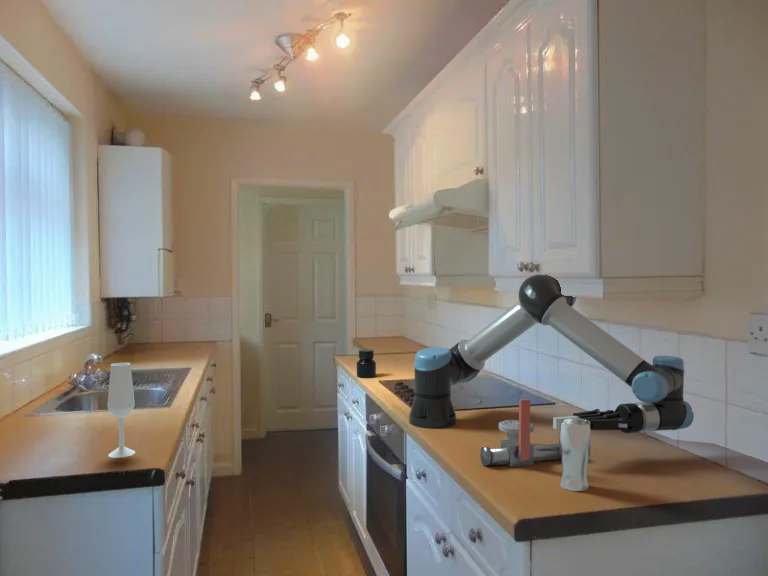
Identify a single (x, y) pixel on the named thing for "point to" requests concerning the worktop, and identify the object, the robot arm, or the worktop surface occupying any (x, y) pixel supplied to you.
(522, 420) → the lever
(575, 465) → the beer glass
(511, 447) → the valve
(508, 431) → the showerhead
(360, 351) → the ink bottle
